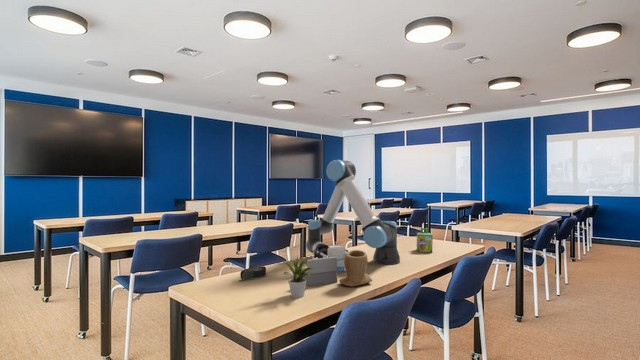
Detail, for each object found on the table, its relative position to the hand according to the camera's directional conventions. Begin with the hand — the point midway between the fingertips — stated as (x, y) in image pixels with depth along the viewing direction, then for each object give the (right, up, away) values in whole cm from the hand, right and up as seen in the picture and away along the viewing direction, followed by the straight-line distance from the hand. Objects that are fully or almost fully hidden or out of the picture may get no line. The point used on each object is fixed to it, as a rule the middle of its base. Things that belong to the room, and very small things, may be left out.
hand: (338, 257), depth 178 cm
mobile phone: (-42, -8, -13) cm, 44 cm away
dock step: (-11, -7, -16) cm, 21 cm away
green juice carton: (+59, -7, +48) cm, 76 cm away
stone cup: (+7, -7, -24) cm, 26 cm away
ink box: (-1, -7, +2) cm, 8 cm away
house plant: (-19, -7, -39) cm, 44 cm away
